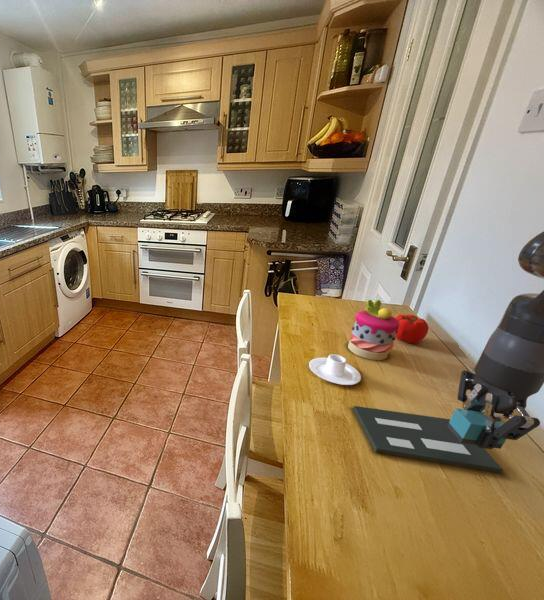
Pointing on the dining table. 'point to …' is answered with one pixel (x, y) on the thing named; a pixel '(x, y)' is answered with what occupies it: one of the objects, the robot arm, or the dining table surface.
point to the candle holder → (335, 370)
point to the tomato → (411, 328)
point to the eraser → (469, 426)
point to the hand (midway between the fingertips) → (473, 436)
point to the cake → (373, 332)
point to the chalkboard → (421, 439)
